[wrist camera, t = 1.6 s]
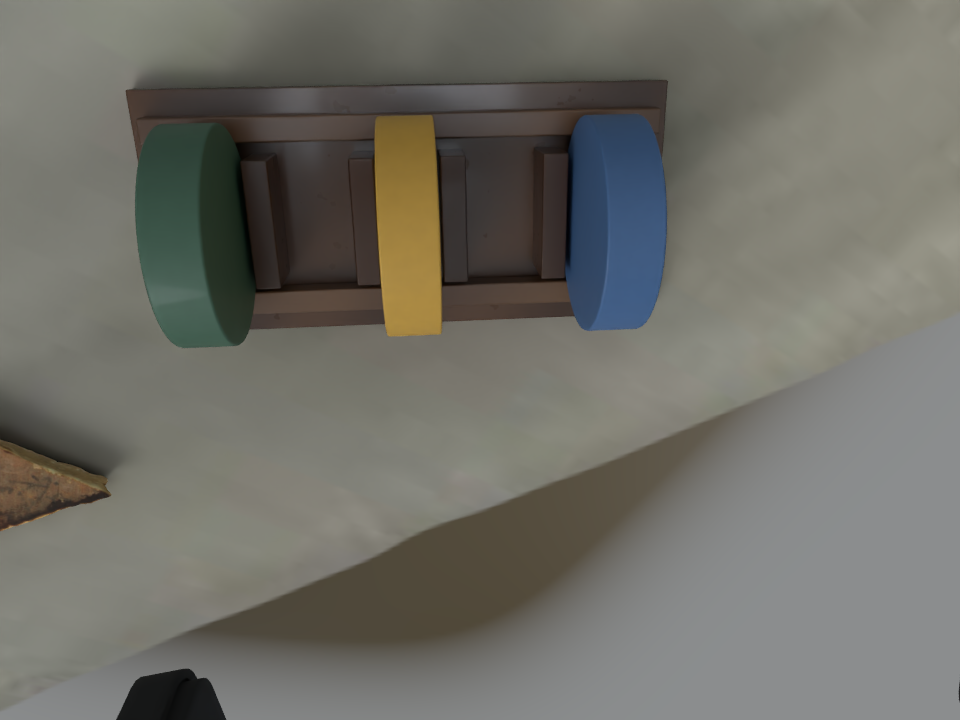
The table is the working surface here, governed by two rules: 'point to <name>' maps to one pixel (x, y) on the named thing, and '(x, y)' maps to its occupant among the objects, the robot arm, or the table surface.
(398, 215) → the mustard disc
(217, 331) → the green disc
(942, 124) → the table surface
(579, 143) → the blue disc
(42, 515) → the shard
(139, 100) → the disc rack
